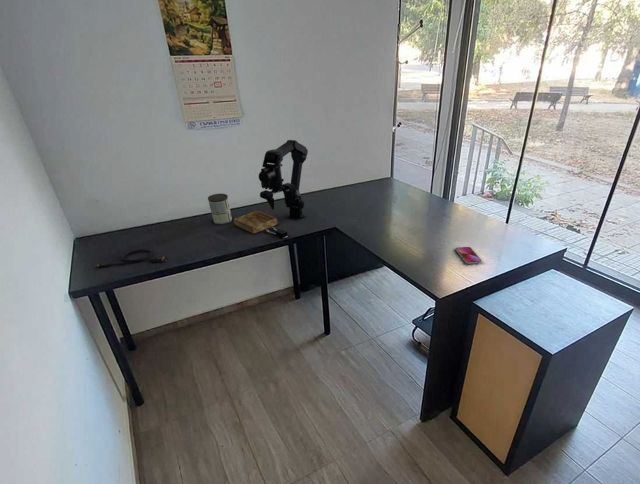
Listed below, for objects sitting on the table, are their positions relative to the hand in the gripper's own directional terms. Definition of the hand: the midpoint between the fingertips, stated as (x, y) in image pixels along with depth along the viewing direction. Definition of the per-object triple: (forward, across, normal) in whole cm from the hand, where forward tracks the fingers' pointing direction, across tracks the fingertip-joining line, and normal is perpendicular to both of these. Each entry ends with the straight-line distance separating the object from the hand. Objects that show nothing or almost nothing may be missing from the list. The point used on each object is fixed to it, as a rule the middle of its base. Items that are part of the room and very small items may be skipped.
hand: (279, 206), depth 200 cm
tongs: (+12, +7, +4) cm, 14 cm away
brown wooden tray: (+12, +7, -13) cm, 19 cm away
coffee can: (+12, +15, -33) cm, 38 cm away
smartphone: (+12, -33, +92) cm, 98 cm away
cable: (+11, +66, -27) cm, 72 cm away
